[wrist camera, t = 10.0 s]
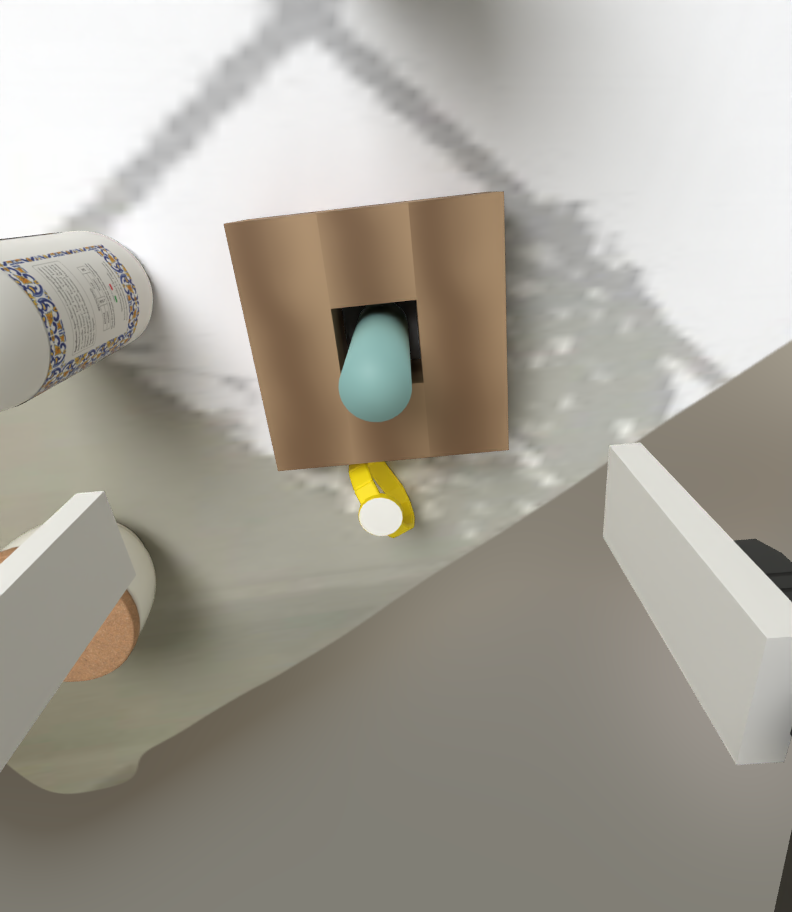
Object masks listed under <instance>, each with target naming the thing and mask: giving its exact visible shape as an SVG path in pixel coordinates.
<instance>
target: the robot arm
mask: <svg viewBox="0 0 792 912" xmlns="http://www.w3.org/2000/svg"><path fill="white" fill-rule="evenodd" d="M604 516H605V517H604V530H603V538H604V539H605V541H606V543H607V544H608V546H609V548H610V550H611V551H612V553H613V555H614V556H615V558H616V560H617V562H618V563H619V565H620V567H621V569H622V570H623V572H624V574H625V575H626V577H627V579H628V580H629V582H630V584H631V586H632V587H633V589H634V591H635V593H636V594H637V596H638V598H639V599H640V601H641V603H642V605H643V606H644V608H645V609H646V611H647V613H648V615H649V617H650V618H651V620H652V622H653V623H654V625H655V627H656V628H657V630H658V632H659V634H660V635H661V637H662V639H663V641H664V642H665V644H666V646H667V647H668V649H669V651H670V652H671V654H672V656H673V657H674V659H675V661H676V663H677V664H678V666H679V668H680V669H681V671H682V673H683V675H684V677H685V678H686V680H687V681H688V683H689V685H690V687H691V688H692V690H693V692H694V694H695V695H696V697H697V699H698V701H699V702H700V704H701V706H702V707H703V709H704V711H705V712H706V714H707V716H708V718H709V719H710V721H711V723H712V724H713V726H714V728H715V730H716V731H717V733H718V735H719V737H720V738H721V740H722V742H723V743H724V745H725V747H726V749H727V750H728V752H729V754H730V755H731V757H732V759H733V760H734V762H735V764H736V765H744V764H761V763H778V762H784V761H785V758H786V754H787V751H788V748H789V744H790V741H791V738H792V562H790V560H789V559H787V558H786V557H785V556H784V555H783V554H782V553H781V552H779V551H777V550H775V549H773V548H771V547H770V546H768V545H765V544H764V543H762V542H760V541H758V540H757V539H748V540H736V541H733V540H732V539H731V538H730V537H729V536H728V534H727V533H726V532H725V531H724V530H723V529H722V528H721V527H720V526H719V525H718V524H717V523H716V522H715V521H714V520H713V519H712V518H711V517H710V515H708V513H707V512H706V511H705V510H704V509H703V508H702V507H701V506H700V505H699V504H698V503H697V502H696V501H695V500H694V499H693V498H692V497H691V495H690V494H689V493H688V492H687V491H686V490H685V489H684V488H683V487H682V486H681V485H680V484H679V483H678V482H677V481H676V480H675V479H674V478H673V477H672V476H671V474H669V473H668V471H667V470H666V469H665V468H664V467H663V466H662V465H661V464H660V463H659V462H658V461H657V460H656V459H655V458H654V457H653V456H652V454H650V452H649V451H648V450H647V449H646V448H645V447H644V446H643V445H642V444H641V443H630V444H619V445H609V456H608V472H607V486H606V502H605V515H604ZM135 576H136V573H135V570H134V567H133V565H132V562H131V560H130V557H129V554H128V552H127V549H126V546H125V544H124V541H123V539H122V536H121V533H120V531H119V528H118V525H117V523H116V520H115V518H114V515H113V512H112V510H111V507H110V504H109V502H108V499H107V497H106V494H105V491H97V492H86V493H76V494H75V495H74V496H73V497H72V498H71V499H70V500H69V501H68V502H67V503H66V504H64V505H63V506H62V507H61V508H60V509H59V510H58V511H57V512H56V513H55V514H54V515H53V516H52V517H50V518H49V519H48V520H47V521H46V522H45V523H44V524H43V525H42V526H41V527H40V528H39V529H38V530H37V531H35V532H34V533H33V534H32V535H31V536H30V537H29V538H28V539H27V540H26V541H25V542H24V543H23V544H21V545H20V546H19V547H18V548H17V549H16V550H15V551H14V552H13V553H12V554H11V555H10V556H9V557H8V558H6V559H5V560H4V561H3V562H2V563H1V564H0V772H1V770H2V769H3V768H4V766H5V765H6V763H7V762H8V760H9V759H10V757H11V756H12V755H13V753H14V752H15V750H16V749H17V747H18V746H19V744H20V743H21V741H22V740H23V739H24V737H25V736H26V734H27V733H28V731H29V730H30V728H31V727H32V726H33V724H34V723H35V721H36V720H37V718H38V717H39V715H40V714H41V712H42V711H43V710H44V708H45V707H46V705H47V704H48V702H49V701H50V699H51V698H52V697H53V695H54V694H55V692H56V691H57V689H58V688H59V686H60V685H61V683H62V682H63V681H64V679H65V678H66V676H67V675H68V673H69V672H70V670H71V669H72V668H73V666H74V665H75V663H76V662H77V660H78V659H79V657H80V656H81V654H82V653H83V652H84V650H85V649H86V647H87V646H88V644H89V643H90V641H91V640H92V639H93V637H94V636H95V634H96V633H97V631H98V630H99V628H100V627H101V625H102V624H103V623H104V621H105V620H106V618H107V617H108V615H109V614H110V612H111V611H112V610H113V608H114V607H115V605H116V604H117V602H118V601H119V599H120V598H121V596H122V595H123V594H124V592H125V591H126V589H127V588H128V586H129V585H130V583H131V582H132V581H133V579H134V578H135ZM774 912H792V832H791V836H790V841H789V846H788V850H787V855H786V860H785V864H784V869H783V873H782V878H781V882H780V887H779V892H778V896H777V901H776V905H775V910H774Z"/></svg>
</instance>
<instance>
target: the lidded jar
mask: <svg viewBox="0 0 792 912" xmlns="http://www.w3.org/2000/svg"><path fill="white" fill-rule="evenodd" d="M116 523H117V522H116ZM43 524H44V523H43ZM43 524H41V525H39V526H37V527H35V528H33V529H31V530H29V531H28V532H26V533H24V534H22V535H21V536H19V537H18V538H16V539H15V540H13V541H12V542H11V543H10V544H8V545H7V546H6V547H5V548H4V549H2V550H1V551H0V564H1V563H2V562H3V561H4V560H5V559H6V558H8V557H9V556H10V555H11V554H12V553H13V552H14V551H15V550H16V549H17V548H18V547H19V546H20V545H21V544H23V543H24V542H25V541H26V540H27V539H28V538H29V537H30V536H31V535H32V534H33V533H34V532H35V531H37V530H38V529H39V528H40V527H41V526H42V525H43ZM117 525H118V528H119V531H120V533H121V536H122V539H123V541H124V544H125V546H126V549H127V552H128V554H129V557H130V560H131V562H132V565H133V567H134V570H135V573H136V576H135V578H134V579H133V581H132V582H131V583H130V585H129V586H128V588H127V589H126V591H125V592H124V594H123V595H122V596H121V598H120V599H119V601H118V602H117V604H116V605H115V607H114V608H113V610H112V611H111V612H110V614H109V615H108V617H107V618H106V620H105V621H104V623H103V624H102V625H101V627H100V628H99V630H98V631H97V633H96V634H95V636H94V637H93V639H92V640H91V641H90V643H89V644H88V646H87V647H86V649H85V650H84V652H83V653H82V654H81V656H80V657H79V659H78V660H77V662H76V663H75V665H74V666H73V668H72V669H71V670H70V672H69V673H68V675H67V676H66V678H65V679H64V681H65V682H74V681H85V680H91V679H95V678H98V677H101V676H104V675H106V674H108V673H110V672H112V671H114V670H115V669H117V668H118V667H120V666H121V665H122V664H123V663H124V662H125V661H126V660H127V658H128V656H129V655H130V653H131V652H132V650H133V648H134V647H135V645H136V642H137V639H138V636H139V634H140V633H141V631H142V629H143V627H144V625H145V623H146V621H147V619H148V616H149V613H150V611H151V608H152V605H153V601H154V597H155V591H156V575H155V569H154V566H153V562H152V559H151V557H150V555H149V553H148V551H147V550H146V548H145V547H144V545H143V543H142V542H141V540H140V539H139V538H138V536H137V535H136V534H135V533H134V532H132V531H131V530H130V529H129V528H127V527H126V526H124V525H122V524H120V523H117Z"/></svg>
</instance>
